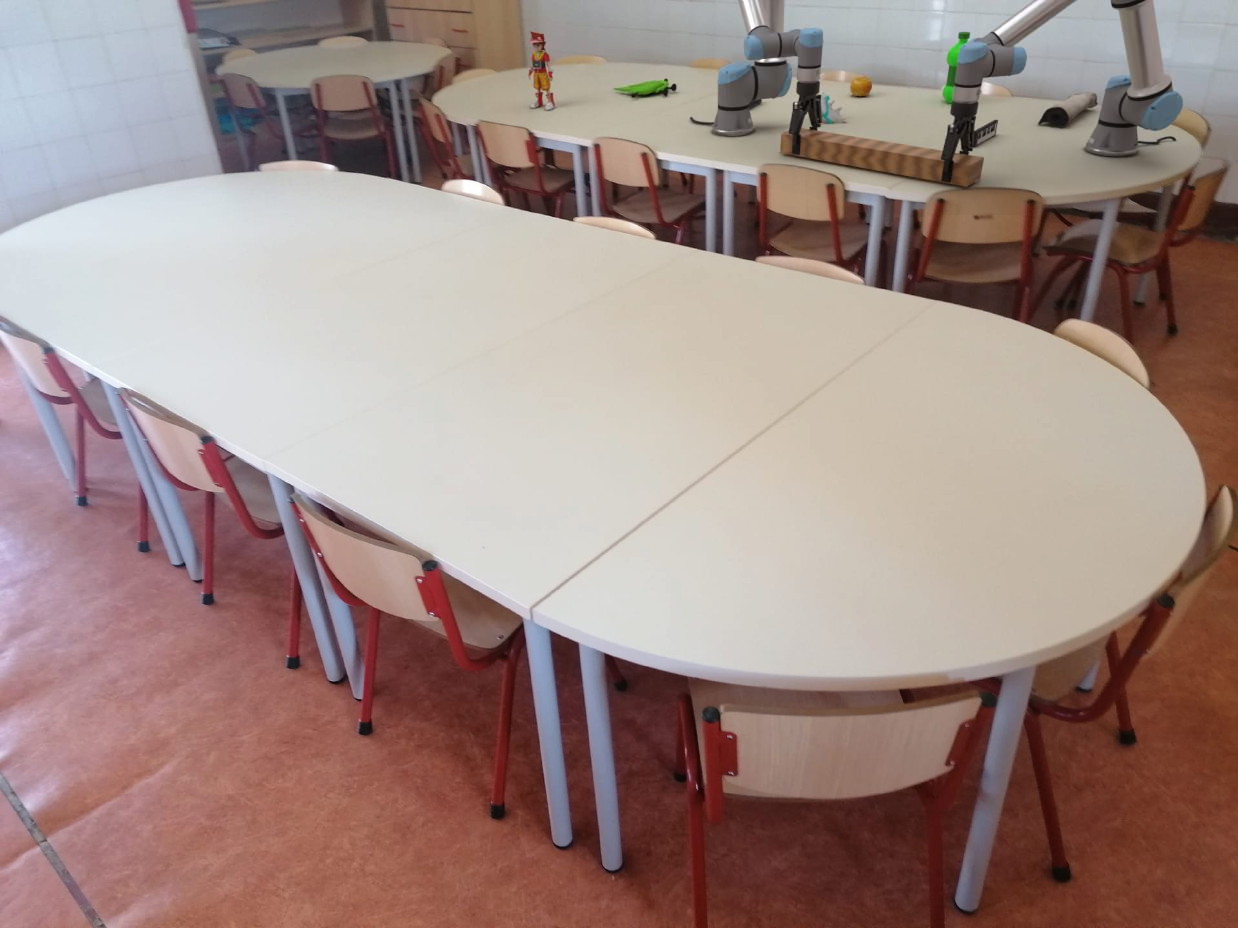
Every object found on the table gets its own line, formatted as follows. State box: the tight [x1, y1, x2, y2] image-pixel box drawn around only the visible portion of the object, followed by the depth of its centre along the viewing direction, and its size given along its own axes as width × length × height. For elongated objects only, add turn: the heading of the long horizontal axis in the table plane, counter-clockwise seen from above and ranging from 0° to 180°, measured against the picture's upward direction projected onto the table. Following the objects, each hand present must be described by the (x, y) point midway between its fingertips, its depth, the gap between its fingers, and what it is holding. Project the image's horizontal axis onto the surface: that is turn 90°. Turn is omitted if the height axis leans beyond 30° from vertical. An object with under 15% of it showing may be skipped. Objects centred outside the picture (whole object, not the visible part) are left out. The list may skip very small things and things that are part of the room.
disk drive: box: [749, 99, 763, 110], centre depth 366 cm, size 10×3×15 cm
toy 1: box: [527, 31, 556, 111], centre depth 374 cm, size 12×9×30 cm
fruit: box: [849, 76, 873, 97], centre depth 369 cm, size 8×8×8 cm
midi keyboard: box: [972, 119, 999, 148], centre depth 308 cm, size 18×1×5 cm, turn 138°
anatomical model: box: [820, 92, 847, 124], centre depth 342 cm, size 15×10×10 cm
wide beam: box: [779, 127, 985, 188], centre depth 289 cm, size 67×9×6 cm, turn 47°
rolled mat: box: [1037, 91, 1098, 128], centre depth 327 cm, size 30×9×10 cm
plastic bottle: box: [942, 31, 971, 104], centre depth 348 cm, size 10×10×25 cm
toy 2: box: [612, 78, 677, 99], centre depth 396 cm, size 28×5×30 cm
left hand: (804, 150), depth 306 cm, fingers closed on wide beam, 9 cm apart
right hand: (953, 177), depth 275 cm, fingers closed on wide beam, 9 cm apart
